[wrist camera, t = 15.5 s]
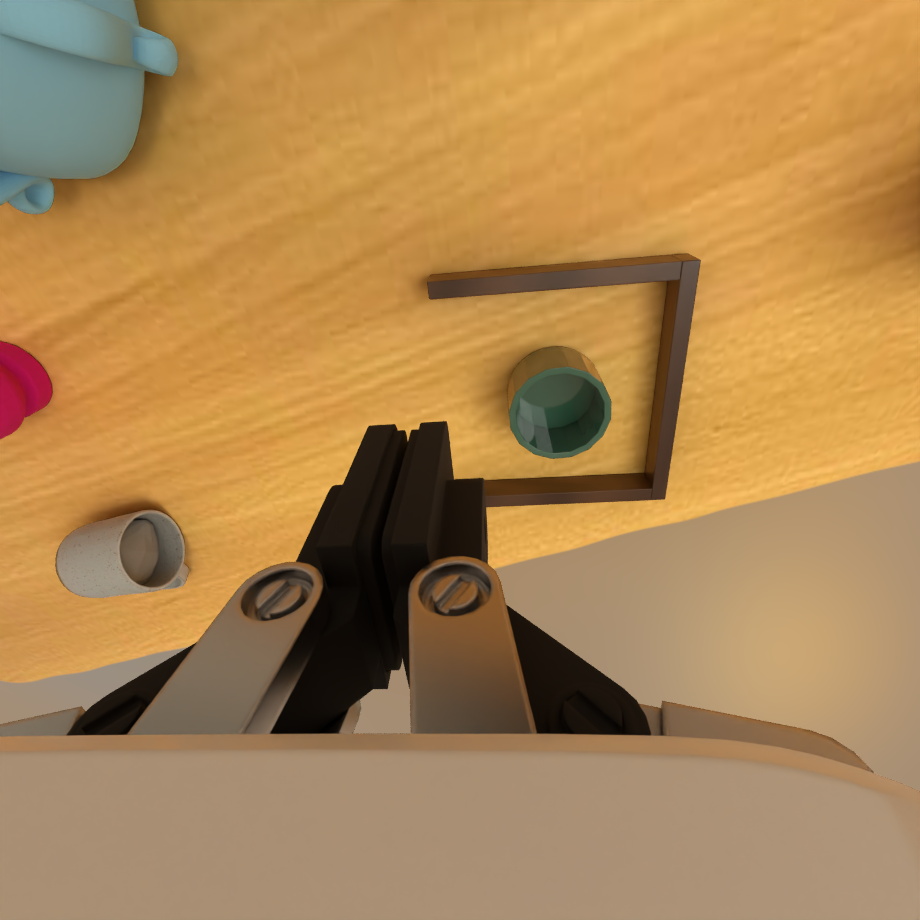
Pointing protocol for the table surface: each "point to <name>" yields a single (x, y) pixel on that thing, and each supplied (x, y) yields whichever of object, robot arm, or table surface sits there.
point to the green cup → (557, 403)
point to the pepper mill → (20, 387)
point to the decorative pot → (70, 92)
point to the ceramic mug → (123, 556)
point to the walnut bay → (668, 380)
